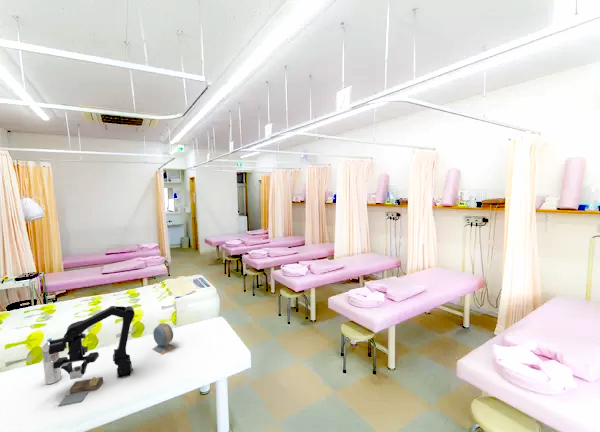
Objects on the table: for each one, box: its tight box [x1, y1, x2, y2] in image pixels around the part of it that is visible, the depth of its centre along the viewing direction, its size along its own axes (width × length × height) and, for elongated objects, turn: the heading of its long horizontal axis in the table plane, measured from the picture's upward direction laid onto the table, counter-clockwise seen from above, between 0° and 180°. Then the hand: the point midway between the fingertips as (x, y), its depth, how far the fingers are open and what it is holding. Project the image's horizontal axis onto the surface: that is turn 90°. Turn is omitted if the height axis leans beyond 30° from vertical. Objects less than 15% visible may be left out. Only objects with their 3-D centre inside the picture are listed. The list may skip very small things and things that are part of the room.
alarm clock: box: [152, 322, 177, 355], centre depth 187 cm, size 14×10×18 cm
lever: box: [89, 376, 99, 386], centre depth 149 cm, size 3×3×3 cm
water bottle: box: [41, 337, 62, 385], centre depth 156 cm, size 7×7×25 cm
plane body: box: [69, 376, 104, 394], centre depth 150 cm, size 13×6×3 cm, turn 106°
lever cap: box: [69, 365, 87, 380], centre depth 148 cm, size 5×5×5 cm
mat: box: [57, 391, 89, 407], centre depth 142 cm, size 10×8×1 cm
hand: (78, 374), depth 149 cm, fingers closed on lever cap, 5 cm apart
